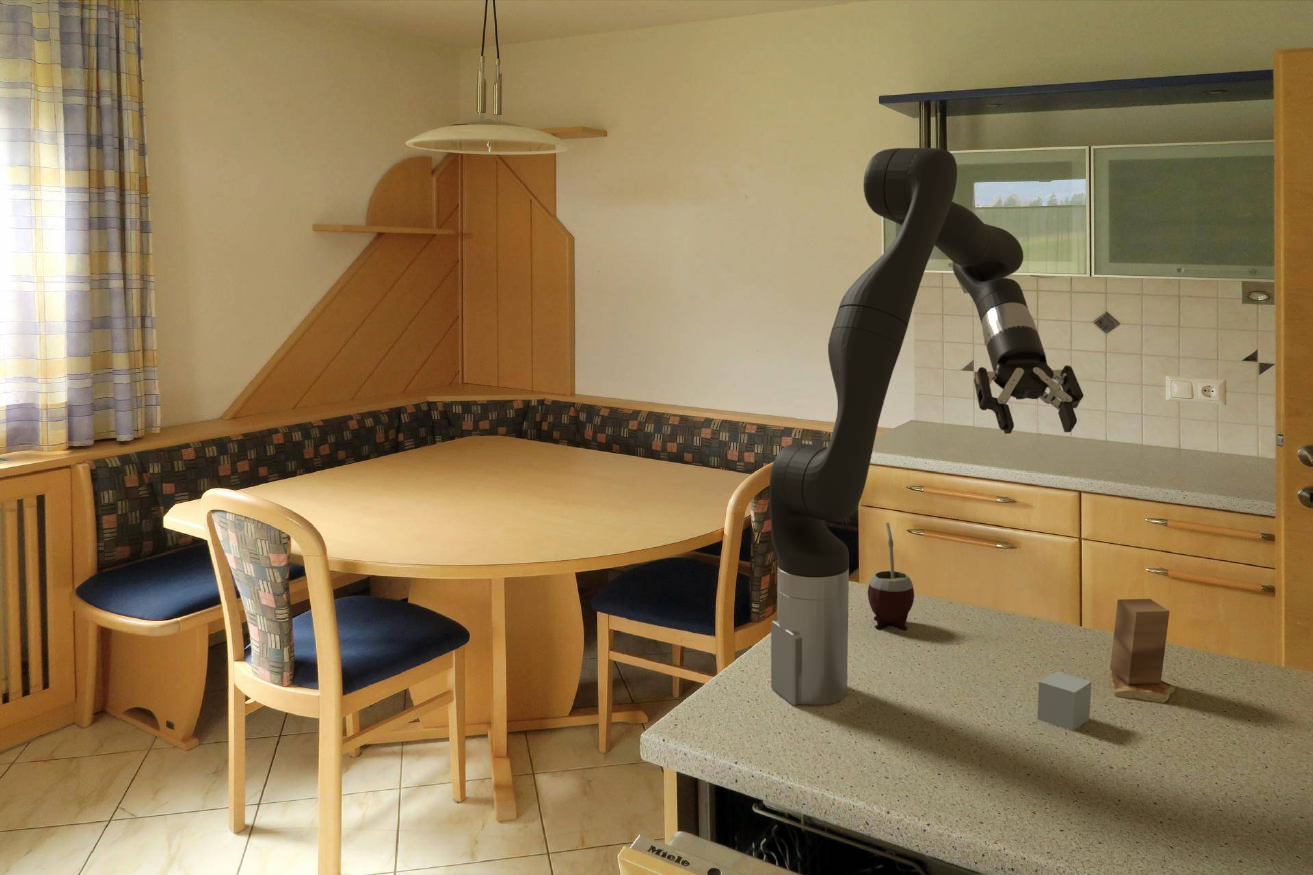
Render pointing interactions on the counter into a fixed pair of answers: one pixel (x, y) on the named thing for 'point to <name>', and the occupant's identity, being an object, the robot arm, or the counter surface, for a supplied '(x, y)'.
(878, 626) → the mate gourd
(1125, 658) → the walnut block
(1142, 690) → the shard
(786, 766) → the counter surface
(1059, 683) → the grey-blue block
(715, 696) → the counter surface
